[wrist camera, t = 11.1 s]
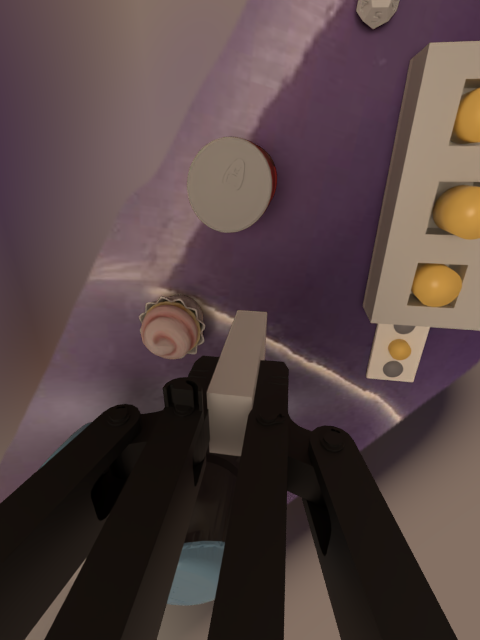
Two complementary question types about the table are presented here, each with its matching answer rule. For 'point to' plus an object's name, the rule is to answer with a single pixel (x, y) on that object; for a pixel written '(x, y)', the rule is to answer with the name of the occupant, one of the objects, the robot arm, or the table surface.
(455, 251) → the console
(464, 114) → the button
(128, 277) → the table surface
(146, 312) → the cupcake
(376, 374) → the pattern card
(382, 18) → the game die
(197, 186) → the canned food
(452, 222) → the button mid
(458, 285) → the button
